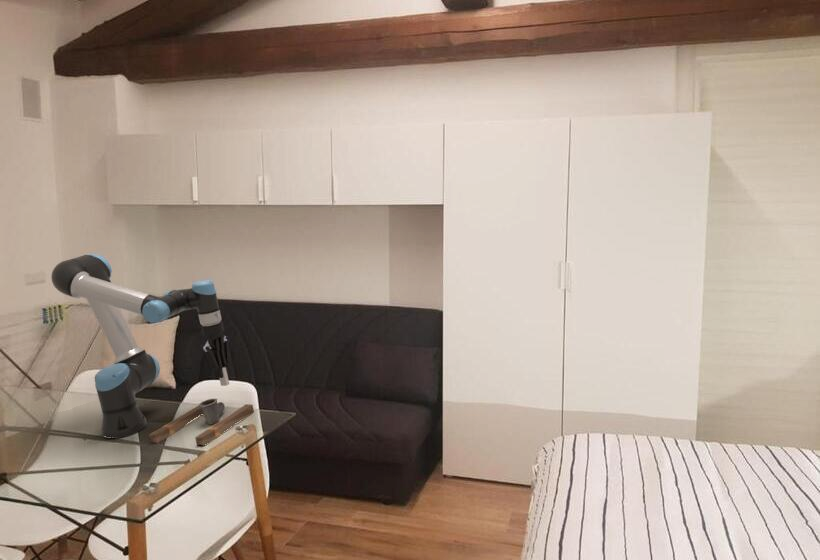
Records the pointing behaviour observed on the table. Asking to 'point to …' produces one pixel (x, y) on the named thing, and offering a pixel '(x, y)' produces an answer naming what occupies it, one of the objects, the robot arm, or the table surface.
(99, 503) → the table surface
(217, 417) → the pipe
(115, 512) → the table surface
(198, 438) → the guide rails
